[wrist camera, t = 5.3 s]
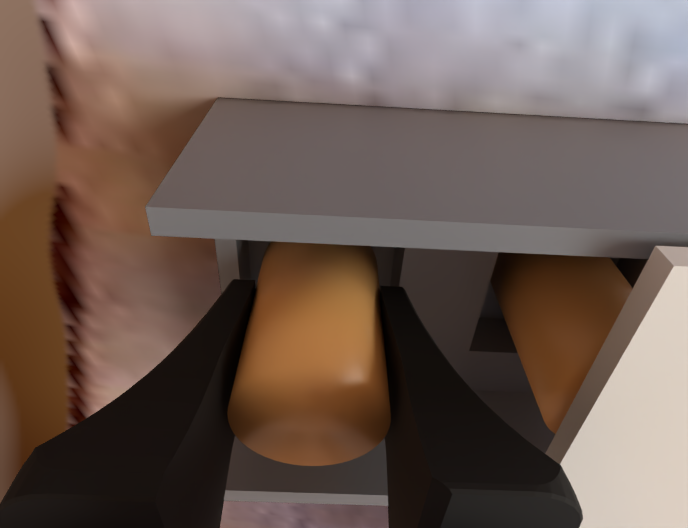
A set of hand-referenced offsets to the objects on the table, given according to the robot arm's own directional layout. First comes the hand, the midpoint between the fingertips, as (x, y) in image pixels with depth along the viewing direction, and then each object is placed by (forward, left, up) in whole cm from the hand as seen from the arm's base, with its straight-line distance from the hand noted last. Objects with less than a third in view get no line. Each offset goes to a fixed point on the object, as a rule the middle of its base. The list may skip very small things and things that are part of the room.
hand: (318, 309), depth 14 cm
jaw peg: (0, 0, -2) cm, 2 cm away
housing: (0, -4, -3) cm, 5 cm away
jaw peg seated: (0, -7, -3) cm, 8 cm away
